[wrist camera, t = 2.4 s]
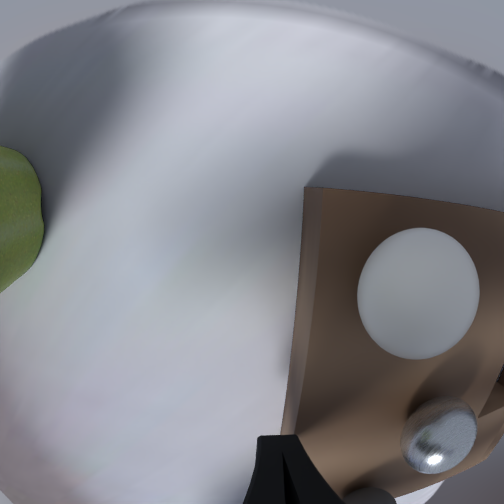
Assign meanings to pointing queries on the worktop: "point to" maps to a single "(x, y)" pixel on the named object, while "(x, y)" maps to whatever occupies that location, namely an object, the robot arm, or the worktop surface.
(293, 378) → the board
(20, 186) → the plant pot
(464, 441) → the steel ball
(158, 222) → the worktop surface
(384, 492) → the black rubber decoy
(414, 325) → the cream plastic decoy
